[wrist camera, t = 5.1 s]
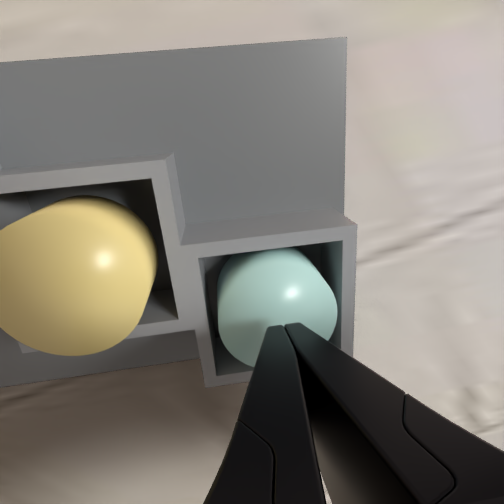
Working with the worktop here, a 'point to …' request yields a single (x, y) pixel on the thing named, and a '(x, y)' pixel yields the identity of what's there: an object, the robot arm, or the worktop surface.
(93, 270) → the mustard button
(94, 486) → the worktop surface
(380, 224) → the worktop surface
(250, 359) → the teal button
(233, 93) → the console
